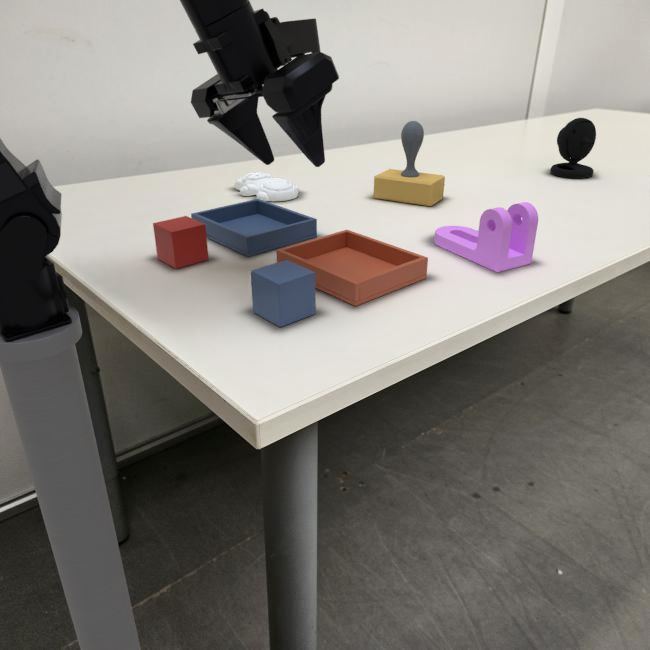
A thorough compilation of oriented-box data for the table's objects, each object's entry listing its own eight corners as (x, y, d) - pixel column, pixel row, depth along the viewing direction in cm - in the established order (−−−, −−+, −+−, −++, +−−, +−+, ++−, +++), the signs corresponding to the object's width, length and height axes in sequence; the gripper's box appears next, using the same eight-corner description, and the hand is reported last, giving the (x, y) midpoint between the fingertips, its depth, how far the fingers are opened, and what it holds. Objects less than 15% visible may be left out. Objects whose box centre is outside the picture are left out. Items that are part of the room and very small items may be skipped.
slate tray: (248, 256, 75) (246, 237, 74) (192, 231, 84) (190, 213, 83) (317, 237, 82) (316, 218, 80) (258, 215, 90) (258, 198, 89)
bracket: (531, 263, 73) (540, 206, 70) (497, 272, 70) (505, 213, 67) (457, 233, 83) (462, 182, 80) (425, 240, 80) (429, 187, 77)
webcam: (571, 167, 118) (581, 113, 113) (602, 176, 112) (614, 119, 107) (540, 172, 115) (549, 116, 110) (570, 180, 109) (581, 122, 104)
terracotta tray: (355, 306, 62) (355, 283, 61) (276, 270, 71) (275, 249, 70) (426, 278, 69) (428, 257, 68) (346, 248, 78) (347, 229, 77)
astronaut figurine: (269, 182, 108) (269, 164, 107) (308, 196, 99) (308, 178, 98) (225, 189, 103) (224, 171, 102) (262, 205, 95) (261, 186, 93)
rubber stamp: (443, 198, 98) (450, 120, 93) (430, 207, 94) (437, 126, 89) (387, 190, 103) (391, 116, 97) (372, 198, 98) (375, 121, 93)
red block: (175, 269, 72) (171, 232, 69) (157, 258, 75) (152, 223, 72) (208, 259, 74) (205, 224, 72) (189, 250, 77) (186, 215, 75)
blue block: (280, 327, 58) (278, 284, 56) (252, 312, 61) (250, 270, 59) (315, 313, 61) (315, 272, 59) (287, 299, 64) (286, 259, 62)
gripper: (344, -45, 52) (404, 122, 61) (234, -5, 66) (296, 126, 75) (250, 14, 48) (329, 184, 57) (155, 44, 62) (229, 176, 71)
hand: (294, 163), depth 65 cm, fingers open, 9 cm apart
